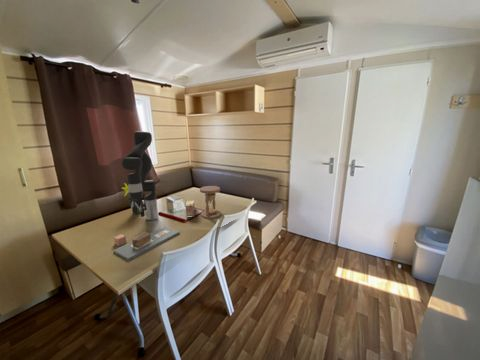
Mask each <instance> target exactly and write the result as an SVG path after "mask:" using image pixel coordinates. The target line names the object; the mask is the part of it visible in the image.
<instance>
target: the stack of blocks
mask: <svg viewBox="0 0 480 360" xmlns="http://www.w3.org/2000/svg"><path fill="white" fill-rule="evenodd" d="M187 216H192V217H194V218H195V200H186V203H185V217H187Z"/></svg>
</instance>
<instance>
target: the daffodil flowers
mask: <svg viewBox="0 0 480 360" xmlns="http://www.w3.org/2000/svg"><path fill="white" fill-rule="evenodd" d="M123 184H124V186H125V187H121V189H122V190H124V192H125V194H124V195H123V196H124V197H126V196H127V194H128V195H129V190H128V183H126V182H123ZM135 208H136V211H137V213H136V214H140V210H139V209H138V207H137V206H136V207H135ZM136 214H133V216H134V215H136Z"/></svg>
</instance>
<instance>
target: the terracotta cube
mask: <svg viewBox="0 0 480 360" xmlns="http://www.w3.org/2000/svg"><path fill="white" fill-rule="evenodd" d="M113 242H114V245H116V246H118V247H121V246H124V245H126V244H127V237H126V235H124V234H122V233H120V234H118V235H116V236H114V237H113Z"/></svg>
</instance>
